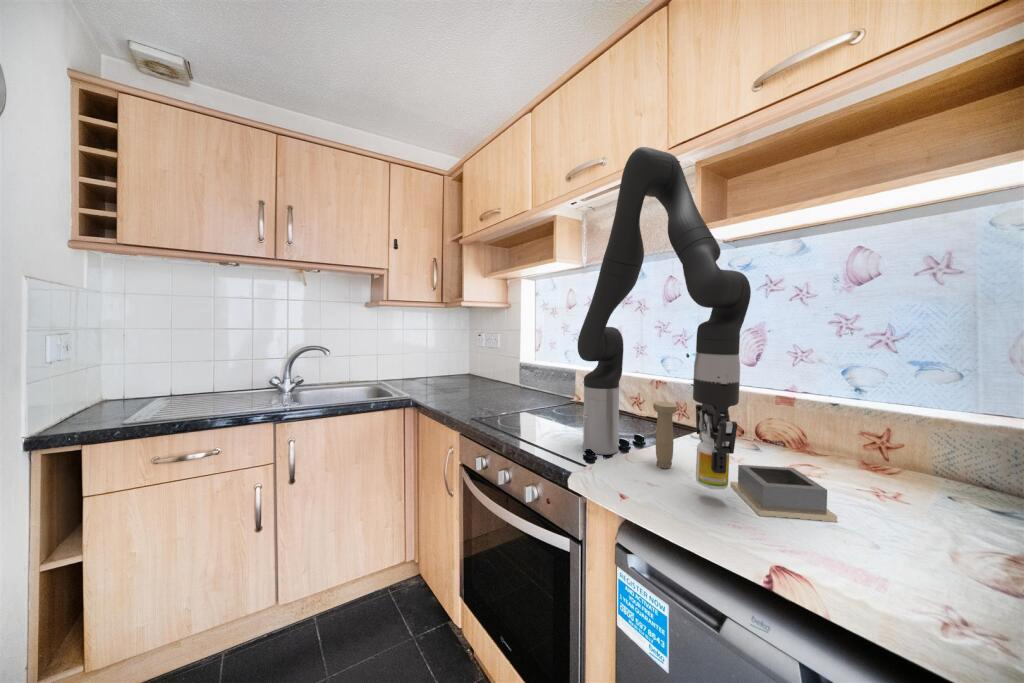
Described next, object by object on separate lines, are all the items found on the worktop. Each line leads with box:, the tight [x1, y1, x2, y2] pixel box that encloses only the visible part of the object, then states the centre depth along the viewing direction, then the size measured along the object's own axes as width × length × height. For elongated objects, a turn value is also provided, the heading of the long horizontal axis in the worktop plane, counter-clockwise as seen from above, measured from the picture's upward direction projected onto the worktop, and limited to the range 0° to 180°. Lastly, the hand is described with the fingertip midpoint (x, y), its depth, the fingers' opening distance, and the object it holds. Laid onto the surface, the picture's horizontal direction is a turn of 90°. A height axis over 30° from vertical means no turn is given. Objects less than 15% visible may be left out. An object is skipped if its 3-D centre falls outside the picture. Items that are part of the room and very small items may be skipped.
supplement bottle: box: [695, 431, 730, 490], centre depth 69 cm, size 5×5×10 cm
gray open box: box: [730, 464, 838, 523], centre depth 68 cm, size 12×12×5 cm
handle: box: [652, 400, 678, 469], centre depth 86 cm, size 5×6×15 cm
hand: (712, 465), depth 69 cm, fingers closed on supplement bottle, 5 cm apart
